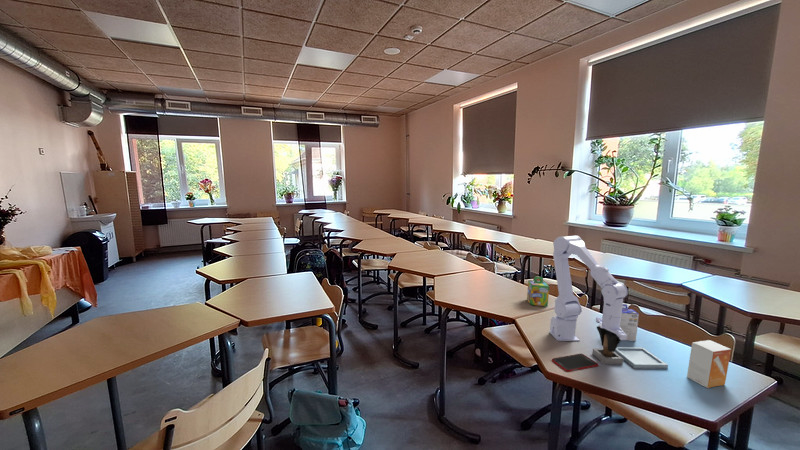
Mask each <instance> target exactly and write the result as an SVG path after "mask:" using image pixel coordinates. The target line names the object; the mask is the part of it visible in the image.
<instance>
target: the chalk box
mask: <svg viewBox="0 0 800 450" xmlns="http://www.w3.org/2000/svg"><path fill="white" fill-rule="evenodd" d="M533 278H534V279H532V280H528V282H527V292H526V300H527V302H528V304H529V305H530V306H538V307H546V306H547V307H548V304H549V296H550V295H549V293H550V285H549V284H548V283H547V282H545V281H544V277H543V276H534V277H533Z"/></svg>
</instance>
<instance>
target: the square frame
mask: <svg viewBox="0 0 800 450" xmlns="http://www.w3.org/2000/svg"><path fill="white" fill-rule="evenodd" d="M602 353H603V348H599V347H598V348H597V347H595V348H592V355H593V356H594V357H595V358H596V359H598V361H600V363H602V364H604V365H623V364H624V359H623V358H622V357H621V356H619V355H618V354H617V353H616V352H613V356H612V357H605V356H604V355H602Z"/></svg>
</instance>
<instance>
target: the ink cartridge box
mask: <svg viewBox="0 0 800 450" xmlns="http://www.w3.org/2000/svg"><path fill="white" fill-rule="evenodd" d="M639 316H640V313H638V312H637V311H635V310H634V309H632V308H630V309H629V308H628V304H627V303H626V304H625V303H623V306H622V314H621V323H620V328H621V329H622V330H623V332H624V333H625V334H626V335H627V339H626V340H625V341H632V342H637V335H638V325H639Z"/></svg>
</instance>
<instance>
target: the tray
mask: <svg viewBox="0 0 800 450" xmlns="http://www.w3.org/2000/svg"><path fill="white" fill-rule="evenodd" d="M615 352H616V353H617V354H618V355H619V356H621V357H622V358H623V361H625V362H626V363H628V365H630V366H631V367H632V368H633V369H667V370H668V368H669V364H668V363H666V362H664V361H663V360H662V359H660V358H659V357H658V356H656V355H654V354H653V353H652V352H650V351H649V350H648V349H646V348H644V347H641V346H640V347H639V346H634V347H633V346H617V348H616V350H615Z"/></svg>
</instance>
